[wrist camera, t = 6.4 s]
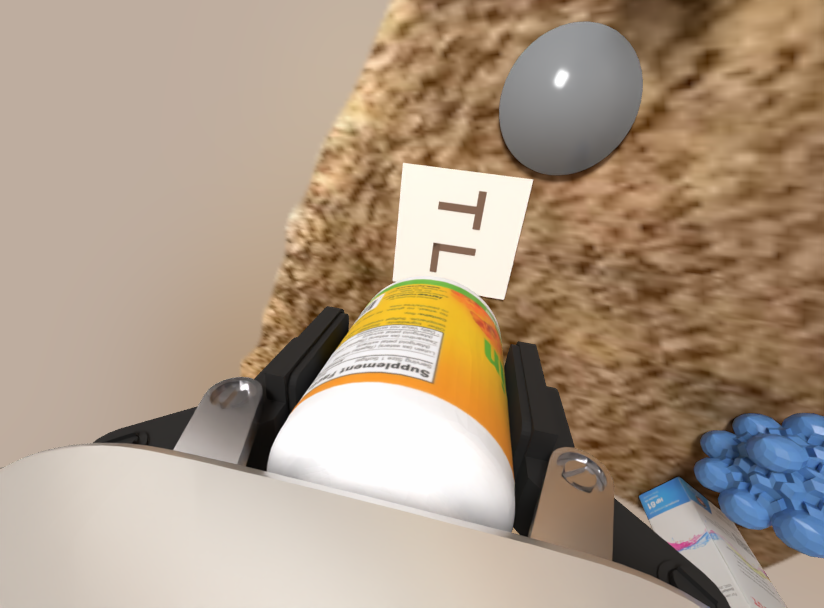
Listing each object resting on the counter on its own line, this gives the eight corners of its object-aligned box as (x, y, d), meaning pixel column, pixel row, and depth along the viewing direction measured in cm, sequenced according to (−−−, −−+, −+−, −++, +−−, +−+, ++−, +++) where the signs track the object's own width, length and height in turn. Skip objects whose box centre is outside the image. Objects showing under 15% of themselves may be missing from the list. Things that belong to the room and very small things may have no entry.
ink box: (633, 495, 37) (693, 635, 27) (677, 473, 35) (761, 616, 25) (687, 538, 38) (765, 688, 28) (733, 519, 36) (836, 675, 26)
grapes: (791, 351, 28) (981, 479, 17) (831, 405, 29) (1030, 555, 19) (650, 416, 33) (730, 549, 22) (689, 461, 34) (783, 606, 24)
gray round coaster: (515, 18, 23) (516, 16, 22) (662, 30, 22) (666, 27, 21) (487, 166, 27) (487, 167, 26) (611, 182, 26) (613, 182, 25)
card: (403, 162, 28) (403, 163, 27) (532, 179, 26) (533, 179, 26) (393, 280, 32) (392, 281, 32) (503, 298, 31) (504, 299, 31)
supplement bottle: (503, 393, 14) (536, 800, 5) (376, 393, 15) (235, 725, 7) (498, 266, 12) (537, 602, 3) (350, 277, 13) (91, 543, 4)
